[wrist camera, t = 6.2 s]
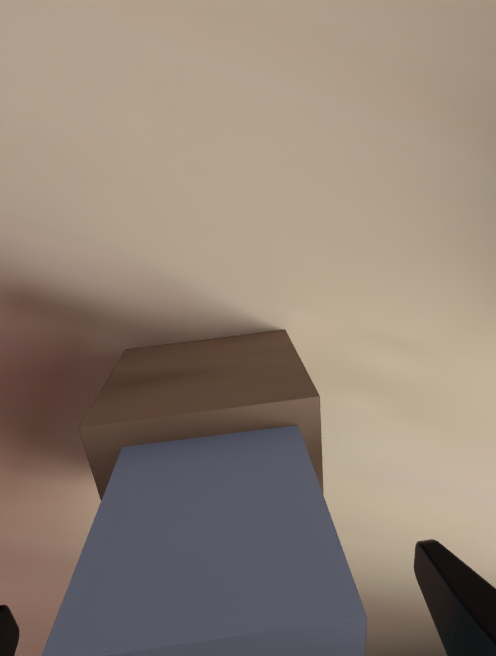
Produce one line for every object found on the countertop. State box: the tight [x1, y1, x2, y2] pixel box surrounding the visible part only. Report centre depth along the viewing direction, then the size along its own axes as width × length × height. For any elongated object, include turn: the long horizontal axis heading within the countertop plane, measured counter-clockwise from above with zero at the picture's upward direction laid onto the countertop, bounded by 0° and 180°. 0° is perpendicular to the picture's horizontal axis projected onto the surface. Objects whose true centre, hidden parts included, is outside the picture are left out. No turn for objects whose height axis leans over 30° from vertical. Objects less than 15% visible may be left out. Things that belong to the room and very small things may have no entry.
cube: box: [42, 425, 367, 656], centre depth 8 cm, size 4×4×4 cm
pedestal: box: [78, 330, 323, 501], centre depth 12 cm, size 6×6×5 cm
